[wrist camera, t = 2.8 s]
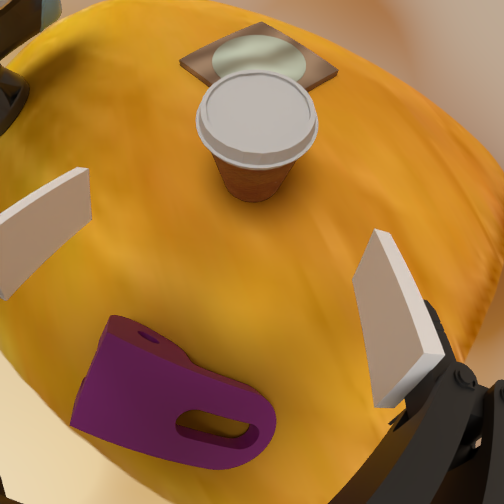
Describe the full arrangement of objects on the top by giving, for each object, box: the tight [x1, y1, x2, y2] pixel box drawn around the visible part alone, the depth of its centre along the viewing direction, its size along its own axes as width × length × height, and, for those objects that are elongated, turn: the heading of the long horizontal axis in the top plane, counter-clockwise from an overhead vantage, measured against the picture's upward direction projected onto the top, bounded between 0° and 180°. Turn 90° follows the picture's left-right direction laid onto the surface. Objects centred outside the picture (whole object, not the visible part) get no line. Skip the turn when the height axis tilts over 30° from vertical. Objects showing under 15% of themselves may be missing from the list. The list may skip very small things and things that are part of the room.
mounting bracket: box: [70, 315, 276, 470], centre depth 25 cm, size 10×8×18 cm
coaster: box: [179, 22, 338, 92], centre depth 34 cm, size 16×16×1 cm
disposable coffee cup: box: [196, 69, 318, 202], centre depth 25 cm, size 10×10×12 cm
